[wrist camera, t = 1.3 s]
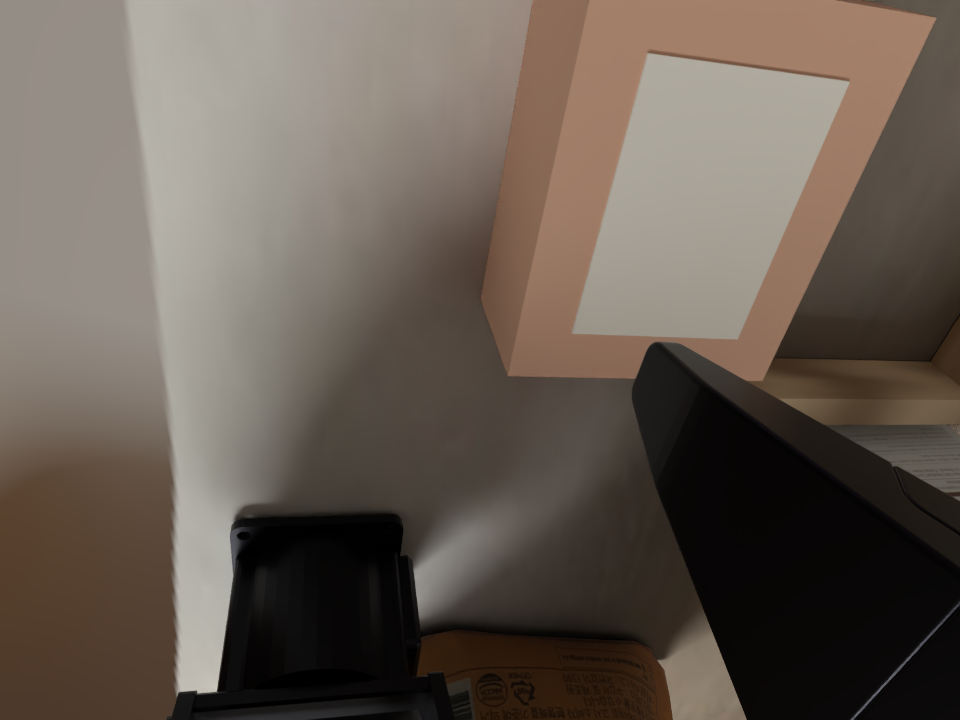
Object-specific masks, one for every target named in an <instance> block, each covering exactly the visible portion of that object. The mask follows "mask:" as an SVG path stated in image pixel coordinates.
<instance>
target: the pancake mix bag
mask: <svg viewBox="0 0 960 720" xmlns="http://www.w3.org/2000/svg"><path fill="white" fill-rule="evenodd" d="M421 641H422V646H421V652H420V658H419V664H418V670H417V676H424V675H427V673H428V672H439V671H443V673H444V676H445V681H446V685H447V689H448V693H449V697H450V701H451V705H452V710H453V714H454V718H455V720H673V718H672V711H671V703H670V696H669V691H668V686H667V681H666V676H665V671H664V669H663V668H662V667H661V665H660V664H659V662H658V661H657V660H656V658H655V656H654V654H653V652H652V650H651V648H649V647H647V646H644V645H642V644H639V643H637V642H635V641H619V640H597V639H579V638H564V637H540V636H521V635H506V634H496V633H486V632H476V631H465V630H453V631H448V632H443V633H438V634H433V635H428V636H425V637H422V638H421Z"/></svg>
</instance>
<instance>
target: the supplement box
mask: <svg viewBox="0 0 960 720" xmlns="http://www.w3.org/2000/svg"><path fill="white" fill-rule="evenodd" d="M825 426H827V427H829V428H831V429H832V430H834V431H836V432H838V433H840V434H841V435H843V436H845V437H847V438H848V439H850V440H852V441H854V442H855V443H857V444H859V445H861V446H863V447H864V448H866V449H868V450H870V451H871V452H873V453H875V454H877V455H878V456H880V457H882V458H884V459H886V460H887V461H889V462H891V464H892V466H898V467H900V468H902V469H903V470H905V471H907V472H909V473H911V474H912V475H914V476H916V477H918V478H919V479H921V480H923V481H925V482H927V483H928V484H930V485H932V486H934V487H936V488H938V489H939V490H941V491H943V492H945V493H947V494H948V495H950V496H952V497H954V498H956V499H958V500H959V501H960V436H959V435H958V434H957V433H956V432H954V431H953V430H952V429H951V428H950V427H949V426H948V425H825Z"/></svg>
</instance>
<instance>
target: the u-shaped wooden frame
mask: <svg viewBox="0 0 960 720" xmlns="http://www.w3.org/2000/svg"><path fill="white" fill-rule="evenodd" d="M748 382H749V383H751V384H753V385H755V386H756V387H758V388H760V389H762V390H763V391H765V392H767V393H769V394H771V395H772V396H774V397H776V398H778V399H779V400H781V401H783V402H785V403H786V404H788V405H790V406H792V407H794V408H795V409H797V410H799V411H801V412H802V413H804V414H806V415H808V416H809V417H811V418H813V419H815V420H817V421H818V422H820V423H822V424H824V425H960V316H959V318H958V319H957V321H956V322H955V324H954V326H953V327H952V329H951V330H950V332H949V333H948V335H947V337H946V338H945V340H944V341H943V343H942V344H941V346H940V348H939V349H938V351H937V352H936V354H935V355H934V357H933V359H932V360H931V362H918V361H875V360H833V359H790V358H773V360H772V362H771V364H770V366H769V368H768V370H767V372H766V374H765V376H764V379H763V381H748Z"/></svg>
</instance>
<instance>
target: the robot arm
mask: <svg viewBox="0 0 960 720" xmlns="http://www.w3.org/2000/svg"><path fill="white" fill-rule="evenodd" d="M632 402H633V406H634V410H635V414H636V417H637V421H638V425H639V429H640V432H641V436H642V440H643V444H644V447H645V451H646V455H647V458H648V462H649V466H650V470H651V473H652V476H653V480H654V483H655V486H656V489H657V492H658V494H659V497H660V500H661V503H662V505H663V508H664V510H665V513H666V515H667V518H668V520H669V523H670V525H671V528H672V531H673V533H674V536H675V538H676V541H677V543H678V546H679V548H680V551H681V553H682V556H683V558H684V561H685V564H686V566H687V569H688V571H689V574H690V576H691V579H692V581H693V584H694V586H695V589H696V592H697V594H698V597H699V599H700V602H701V604H702V607H703V609H704V612H705V614H706V617H707V619H708V622H709V625H710V627H711V630H712V632H713V635H714V637H715V640H716V642H717V645H718V647H719V650H720V653H721V655H722V658H723V660H724V663H725V665H726V668H727V670H728V673H729V675H730V678H731V680H732V683H733V686H734V688H735V691H736V693H737V696H738V698H739V701H740V703H741V706H742V708H743V711H744V714H745V716H746V719H747V720H960V501H959V500H958V499H956V498H954V497H952V496H950V495H948V494H947V493H945V492H943V491H941V490H939V489H938V488H936V487H934V486H932V485H930V484H928V483H927V482H925V481H923V480H921V479H919V478H918V477H916V476H914V475H912V474H911V473H909V472H907V471H905V470H903V469H902V468H900V467H898V466H892V464H891V462H889V461H887V460H886V459H884V458H882V457H880V456H878V455H877V454H875V453H873V452H871V451H870V450H868V449H866V448H864V447H863V446H861V445H859V444H857V443H855V442H854V441H852V440H850V439H848V438H847V437H845V436H843V435H841V434H840V433H838V432H836V431H834V430H832V429H831V428H829V427H827V426H825V425H824V424H822V423H820V422H818V421H817V420H815V419H813V418H811V417H809V416H808V415H806V414H804V413H802V412H801V411H799V410H797V409H795V408H794V407H792V406H790V405H788V404H786V403H785V402H783V401H781V400H779V399H778V398H776V397H774V396H772V395H771V394H769V393H767V392H765V391H763V390H762V389H760V388H758V387H756V386H755V385H753V384H751V383H749V382H748V381H746V380H744V379H742V378H740V377H739V376H737V375H735V374H733V373H732V372H730V371H728V370H726V369H725V368H723V367H721V366H719V365H717V364H716V363H714V362H712V361H710V360H709V359H707V358H705V357H703V356H702V355H700V354H698V353H696V352H694V351H693V350H691V349H689V348H687V347H686V346H684V345H682V344H680V343H675V342H654V343H652V344H651V345H650V346H649V347H648V349H647V351H646V353H645V356H644V358H643V361H642V363H641V366H640V368H639V371H638V374H637V376H636V379H635V381H634V384H633V388H632ZM389 526H393V527H389ZM243 531H245V532H243ZM402 536H403V523H402V519H401V518H400V516H398V515H394V514H379V515H347V516H316V517H284V518H253V519H240V520H237V521H235V522H234V523H233V524H232V527H231V533H230V542H231V553H232V564H233V582H232V589H231V596H230V603H229V610H228V617H227V624H226V631H225V638H224V645H223V652H222V659H221V666H220V673H219V680H218V688H217V692H211V693H198V694H197V691H186V692H179V693H178V697H177V700H176V704H175V707H174V711H173V715H172V716H170V717H167V720H455V718H454V714H453V710H452V705H451V701H450V697H449V693H448V689H447V685H446V681H445V676H444V673H443V671H439V672H428V673H427V675H424V676H417V670H418V664H419V658H420V652H421V646H422V641H421V632H420V624H419V615H418V606H417V598H416V589H415V580H414V572H413V563H412V560H411V559H410V558H409V557H408V556H407V555H403V556H400V553H401V544H402Z"/></svg>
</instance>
